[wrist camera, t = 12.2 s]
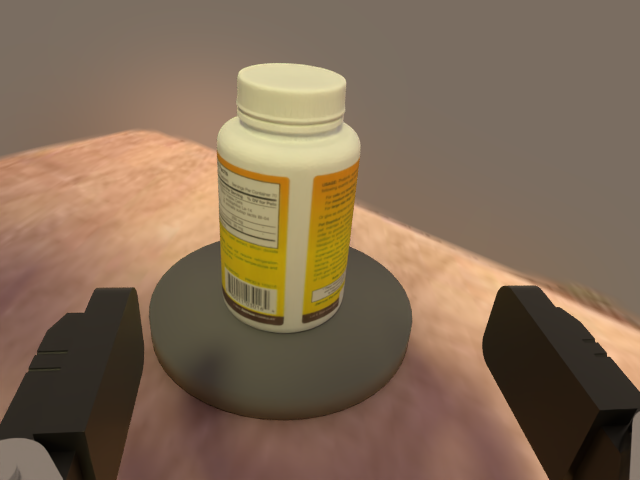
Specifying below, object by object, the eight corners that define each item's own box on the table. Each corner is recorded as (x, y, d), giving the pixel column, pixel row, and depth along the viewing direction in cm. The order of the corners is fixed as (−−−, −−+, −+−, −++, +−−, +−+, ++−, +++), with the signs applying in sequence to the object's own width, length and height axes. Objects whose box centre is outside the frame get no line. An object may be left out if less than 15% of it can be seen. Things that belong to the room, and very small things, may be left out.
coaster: (106, 402, 19) (101, 380, 19) (193, 241, 30) (192, 223, 29) (421, 435, 19) (427, 413, 19) (398, 261, 29) (401, 244, 29)
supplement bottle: (334, 266, 26) (356, 62, 21) (350, 339, 22) (384, 100, 16) (224, 265, 26) (220, 54, 20) (216, 340, 21) (207, 92, 16)
